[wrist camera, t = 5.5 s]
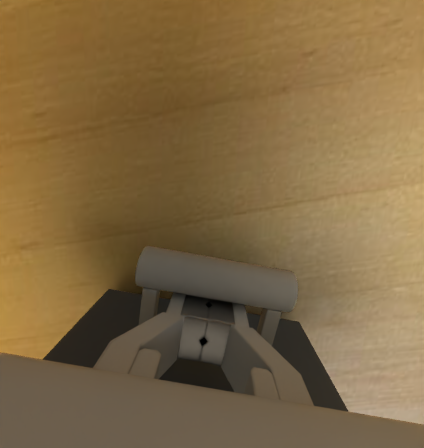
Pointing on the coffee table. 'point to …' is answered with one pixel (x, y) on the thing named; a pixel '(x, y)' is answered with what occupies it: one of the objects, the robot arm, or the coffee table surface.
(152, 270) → the drawer
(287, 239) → the coffee table surface
